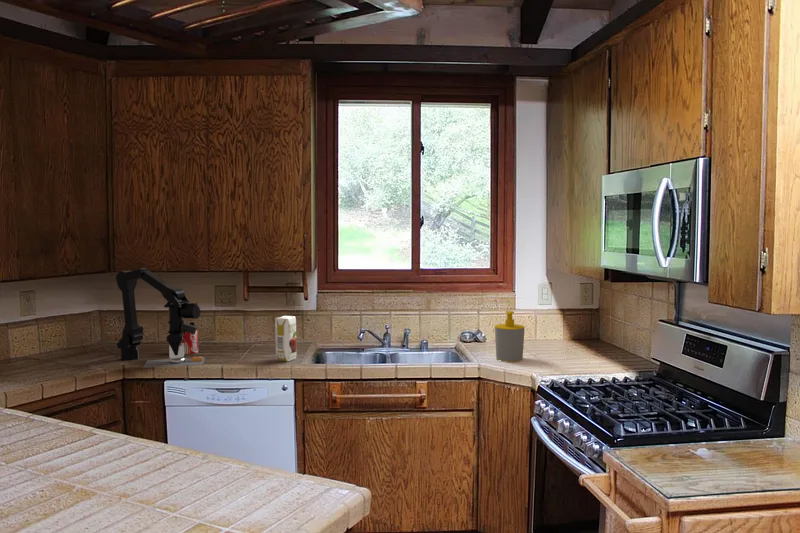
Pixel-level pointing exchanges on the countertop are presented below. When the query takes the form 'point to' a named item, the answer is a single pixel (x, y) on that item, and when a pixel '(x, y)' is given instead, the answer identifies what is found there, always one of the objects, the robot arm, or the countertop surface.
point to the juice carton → (285, 338)
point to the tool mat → (166, 363)
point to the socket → (180, 351)
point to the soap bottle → (509, 340)
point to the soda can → (190, 343)
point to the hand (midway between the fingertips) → (177, 353)
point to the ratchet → (184, 360)
